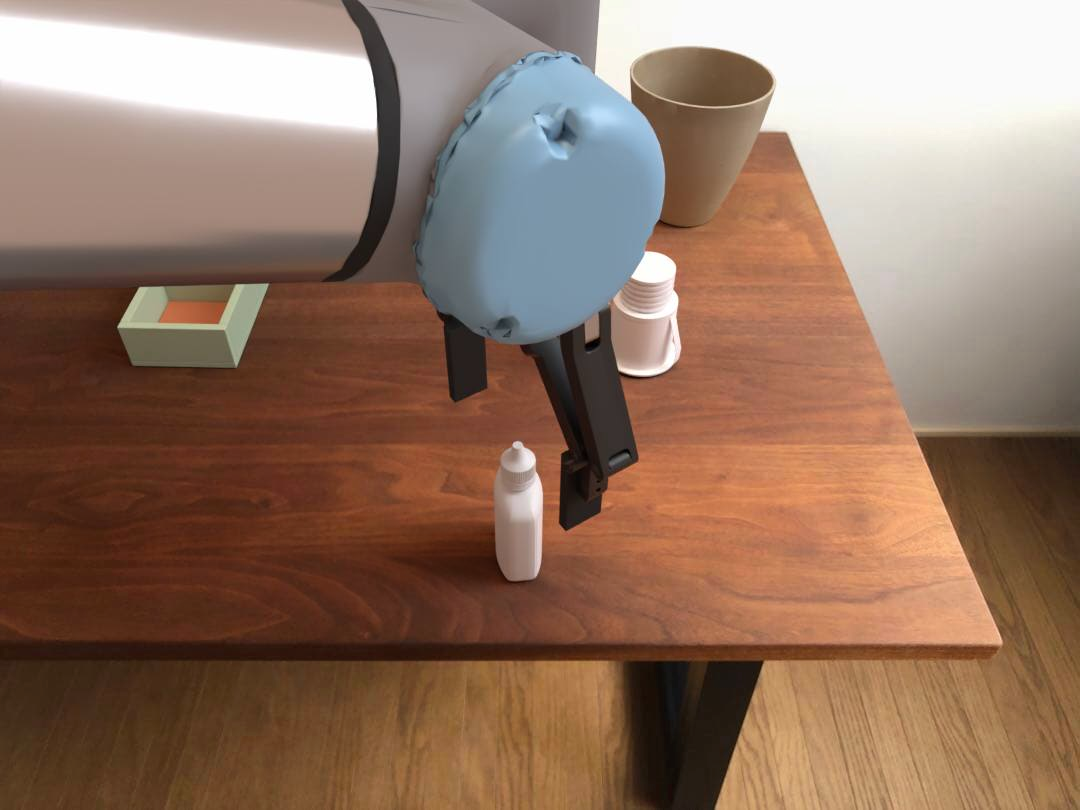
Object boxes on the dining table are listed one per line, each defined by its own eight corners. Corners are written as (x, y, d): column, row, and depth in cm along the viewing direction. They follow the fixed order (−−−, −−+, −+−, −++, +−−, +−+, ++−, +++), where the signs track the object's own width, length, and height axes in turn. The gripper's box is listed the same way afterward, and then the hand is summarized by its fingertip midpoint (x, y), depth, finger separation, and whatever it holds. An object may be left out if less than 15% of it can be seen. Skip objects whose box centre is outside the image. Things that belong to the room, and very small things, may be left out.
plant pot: (757, 248, 97) (788, 109, 86) (621, 244, 97) (633, 105, 86) (739, 177, 108) (764, 45, 97) (615, 174, 108) (626, 42, 97)
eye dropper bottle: (559, 534, 69) (563, 426, 61) (530, 591, 65) (531, 484, 57) (507, 517, 70) (505, 408, 62) (476, 571, 66) (469, 464, 58)
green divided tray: (236, 368, 82) (224, 329, 79) (132, 366, 82) (116, 327, 79) (281, 252, 95) (273, 215, 92) (191, 250, 95) (180, 213, 92)
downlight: (583, 355, 84) (588, 268, 77) (624, 318, 88) (632, 232, 81) (655, 391, 81) (667, 304, 74) (694, 351, 85) (709, 264, 78)
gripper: (742, 265, 39) (684, 552, 54) (456, 60, 54) (472, 331, 69) (606, 325, 36) (584, 612, 51) (341, 91, 51) (385, 367, 66)
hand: (520, 451), depth 60 cm, fingers open, 13 cm apart
